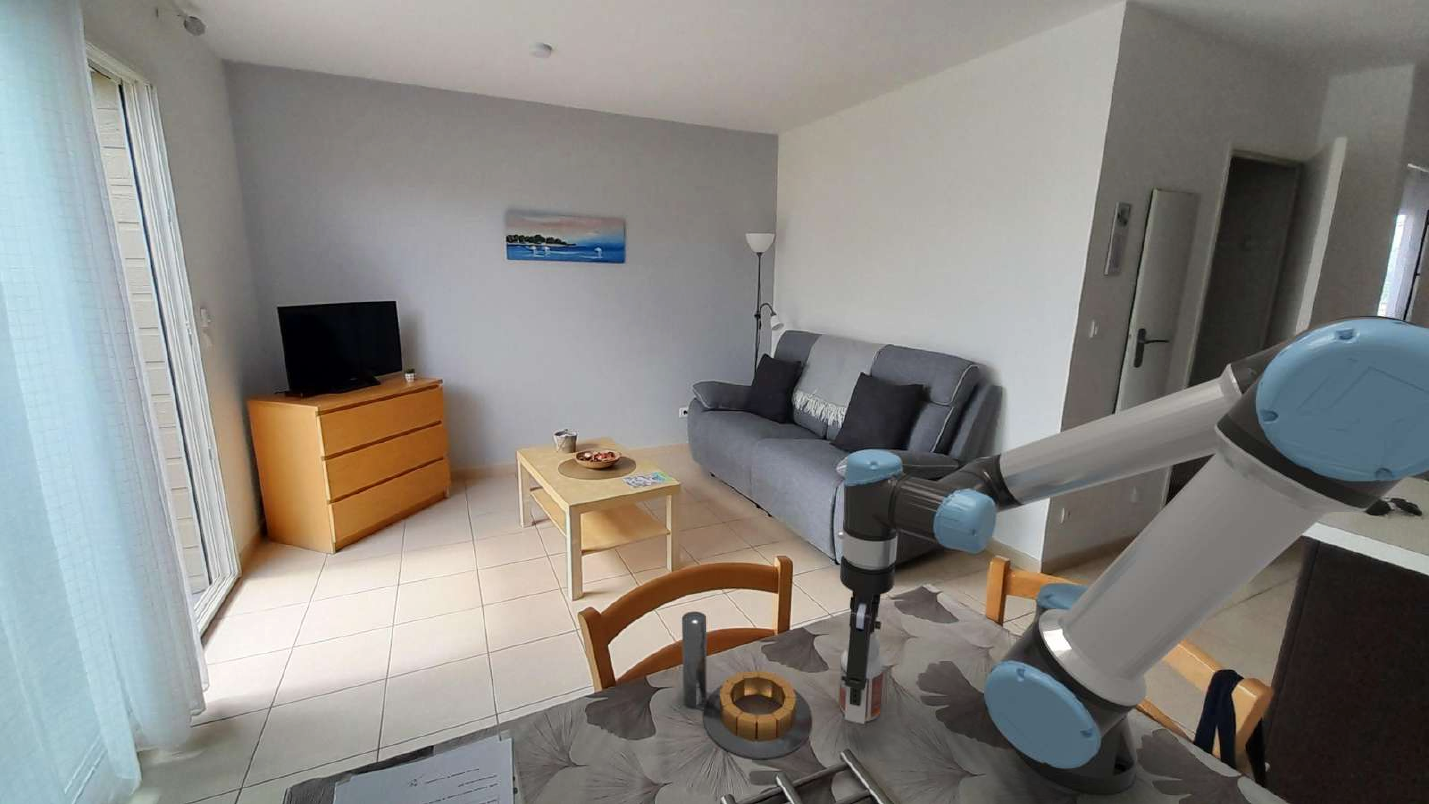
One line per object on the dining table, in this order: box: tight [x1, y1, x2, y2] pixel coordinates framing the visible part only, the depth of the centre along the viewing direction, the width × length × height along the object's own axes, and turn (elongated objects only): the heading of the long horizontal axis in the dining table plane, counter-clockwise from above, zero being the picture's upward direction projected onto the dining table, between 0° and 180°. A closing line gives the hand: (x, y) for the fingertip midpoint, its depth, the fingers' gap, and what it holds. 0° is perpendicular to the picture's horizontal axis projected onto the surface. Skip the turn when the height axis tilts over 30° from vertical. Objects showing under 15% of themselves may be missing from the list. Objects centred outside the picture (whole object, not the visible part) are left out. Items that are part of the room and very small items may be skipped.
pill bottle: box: [838, 636, 884, 722], centre depth 88 cm, size 6×6×11 cm
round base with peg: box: [681, 611, 813, 760], centre depth 87 cm, size 20×16×14 cm
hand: (860, 691), depth 89 cm, fingers open, 12 cm apart
